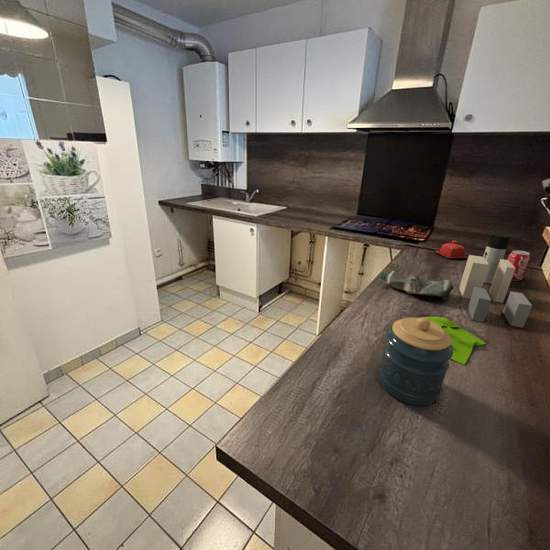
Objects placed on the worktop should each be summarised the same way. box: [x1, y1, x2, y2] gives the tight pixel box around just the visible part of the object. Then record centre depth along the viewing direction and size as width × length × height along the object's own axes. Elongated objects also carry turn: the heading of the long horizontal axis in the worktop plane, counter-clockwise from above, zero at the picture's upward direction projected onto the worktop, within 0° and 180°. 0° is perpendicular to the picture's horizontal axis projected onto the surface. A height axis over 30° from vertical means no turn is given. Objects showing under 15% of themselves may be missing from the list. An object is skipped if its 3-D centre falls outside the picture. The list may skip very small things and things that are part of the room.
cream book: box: [488, 258, 516, 304], centre depth 105 cm, size 2×9×14 cm, turn 156°
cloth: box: [424, 316, 487, 366], centre depth 83 cm, size 20×22×2 cm
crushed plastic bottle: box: [380, 270, 454, 301], centre depth 110 cm, size 13×7×25 cm
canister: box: [378, 316, 453, 406], centre depth 63 cm, size 13×13×18 cm
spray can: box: [482, 232, 512, 285], centre depth 119 cm, size 7×7×20 cm
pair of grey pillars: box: [467, 287, 533, 329], centre depth 93 cm, size 13×9×8 cm
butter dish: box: [435, 239, 469, 260], centre depth 150 cm, size 12×12×8 cm
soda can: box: [507, 249, 531, 282], centre depth 123 cm, size 7×7×12 cm
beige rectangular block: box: [458, 254, 489, 300], centre depth 108 cm, size 5×9×14 cm, turn 156°
